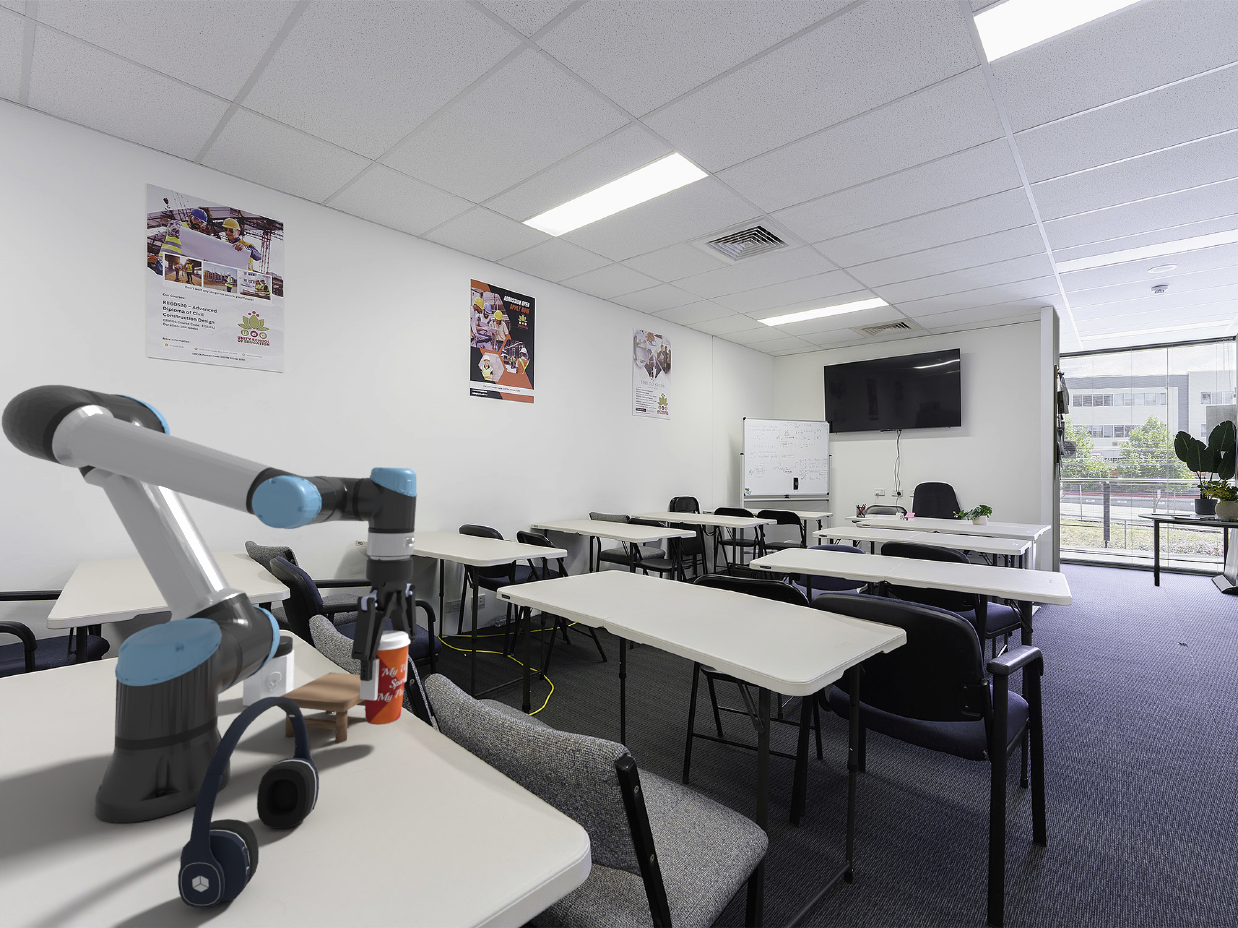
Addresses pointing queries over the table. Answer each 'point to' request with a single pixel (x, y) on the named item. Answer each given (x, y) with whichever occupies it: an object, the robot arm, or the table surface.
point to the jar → (272, 675)
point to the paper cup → (389, 679)
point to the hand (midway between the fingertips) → (384, 689)
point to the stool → (328, 701)
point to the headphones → (230, 847)
